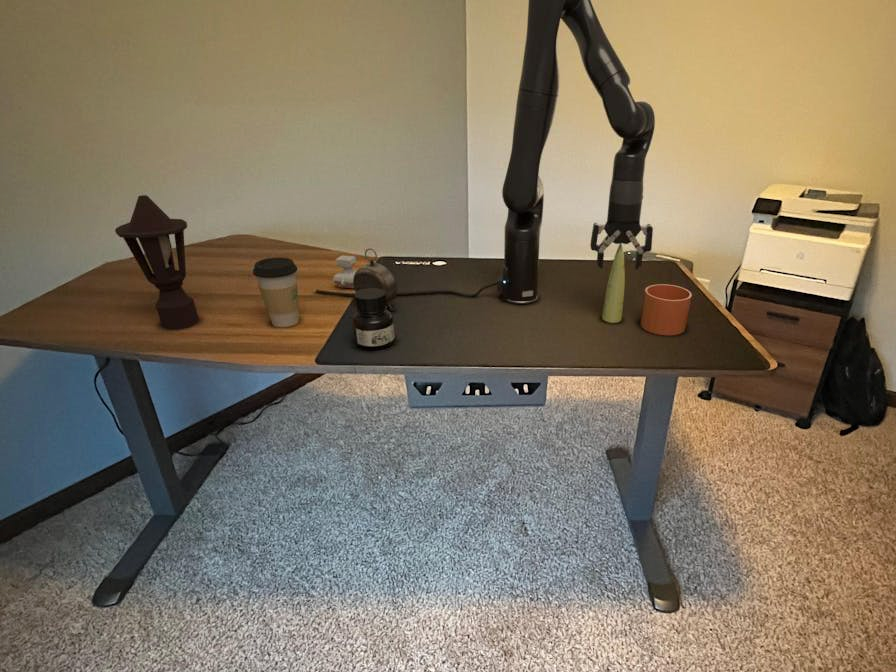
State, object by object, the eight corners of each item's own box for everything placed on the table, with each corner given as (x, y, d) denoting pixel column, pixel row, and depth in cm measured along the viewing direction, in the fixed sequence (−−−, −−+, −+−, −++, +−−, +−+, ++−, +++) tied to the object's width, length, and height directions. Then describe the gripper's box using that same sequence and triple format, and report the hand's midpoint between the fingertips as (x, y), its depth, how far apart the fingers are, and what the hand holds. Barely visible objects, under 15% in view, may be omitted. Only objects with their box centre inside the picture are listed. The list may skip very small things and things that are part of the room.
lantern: (181, 339, 130) (141, 206, 115) (130, 330, 134) (85, 200, 119) (227, 315, 143) (196, 192, 128) (179, 307, 146) (143, 187, 131)
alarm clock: (399, 309, 148) (394, 248, 140) (387, 317, 143) (381, 254, 135) (365, 302, 152) (358, 242, 143) (352, 309, 147) (344, 248, 139)
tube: (627, 321, 144) (637, 246, 134) (612, 326, 141) (621, 249, 132) (612, 314, 148) (621, 240, 138) (597, 318, 145) (605, 243, 136)
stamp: (353, 292, 157) (349, 263, 153) (331, 290, 159) (327, 261, 154) (368, 282, 165) (364, 253, 161) (347, 279, 166) (343, 251, 162)
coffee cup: (314, 317, 143) (304, 259, 135) (289, 332, 134) (277, 272, 127) (282, 311, 145) (270, 254, 138) (255, 326, 137) (241, 266, 130)
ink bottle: (357, 354, 126) (350, 303, 120) (350, 338, 133) (343, 289, 127) (400, 347, 129) (396, 297, 123) (391, 331, 136) (387, 284, 130)
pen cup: (643, 334, 137) (648, 299, 133) (637, 316, 147) (642, 283, 142) (689, 336, 137) (696, 301, 132) (680, 318, 146) (686, 285, 142)
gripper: (654, 196, 133) (645, 263, 141) (593, 195, 133) (588, 262, 141) (659, 203, 126) (650, 273, 134) (595, 202, 127) (589, 271, 135)
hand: (618, 267), depth 138 cm, fingers open, 8 cm apart
